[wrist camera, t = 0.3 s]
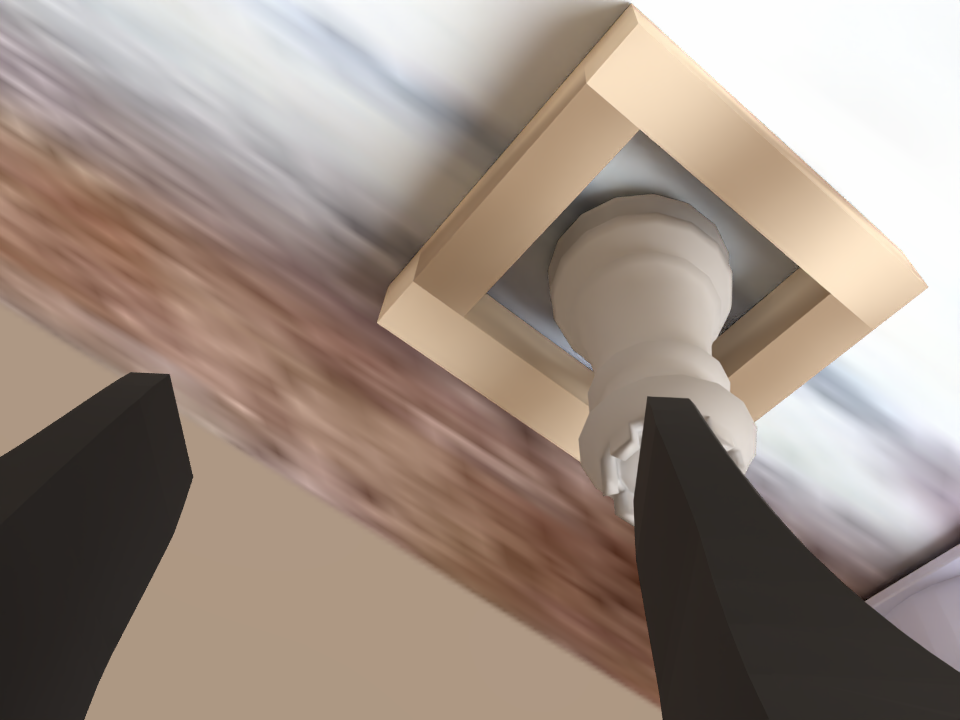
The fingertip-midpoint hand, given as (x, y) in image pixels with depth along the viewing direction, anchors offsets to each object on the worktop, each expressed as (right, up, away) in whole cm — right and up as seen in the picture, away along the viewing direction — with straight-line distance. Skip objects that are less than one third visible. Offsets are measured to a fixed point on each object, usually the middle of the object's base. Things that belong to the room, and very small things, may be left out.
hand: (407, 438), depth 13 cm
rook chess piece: (+5, +4, +9) cm, 11 cm away
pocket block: (+5, +3, +9) cm, 11 cm away
